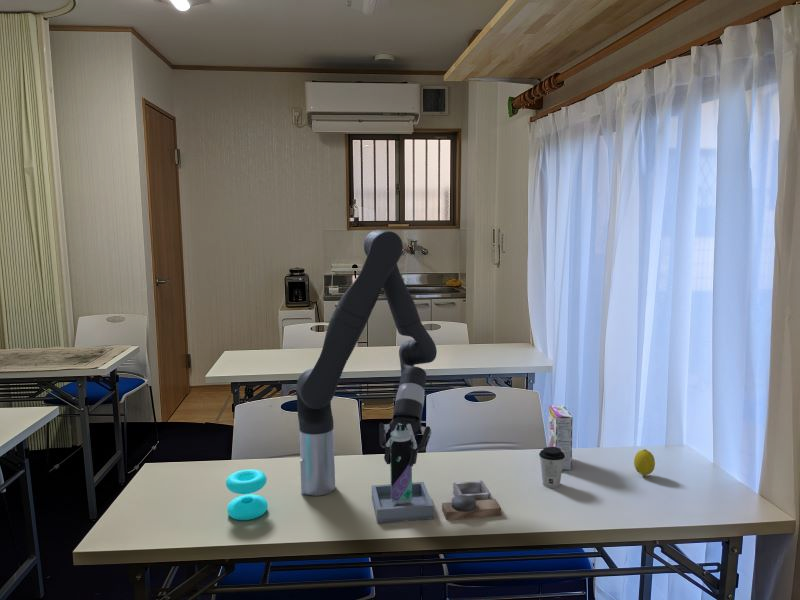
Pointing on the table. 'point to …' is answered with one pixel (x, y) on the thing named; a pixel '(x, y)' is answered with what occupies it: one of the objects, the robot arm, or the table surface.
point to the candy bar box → (561, 432)
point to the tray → (410, 511)
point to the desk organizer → (470, 502)
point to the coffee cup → (551, 466)
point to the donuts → (249, 503)
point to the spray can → (400, 465)
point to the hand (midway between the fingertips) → (399, 463)
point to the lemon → (644, 462)
